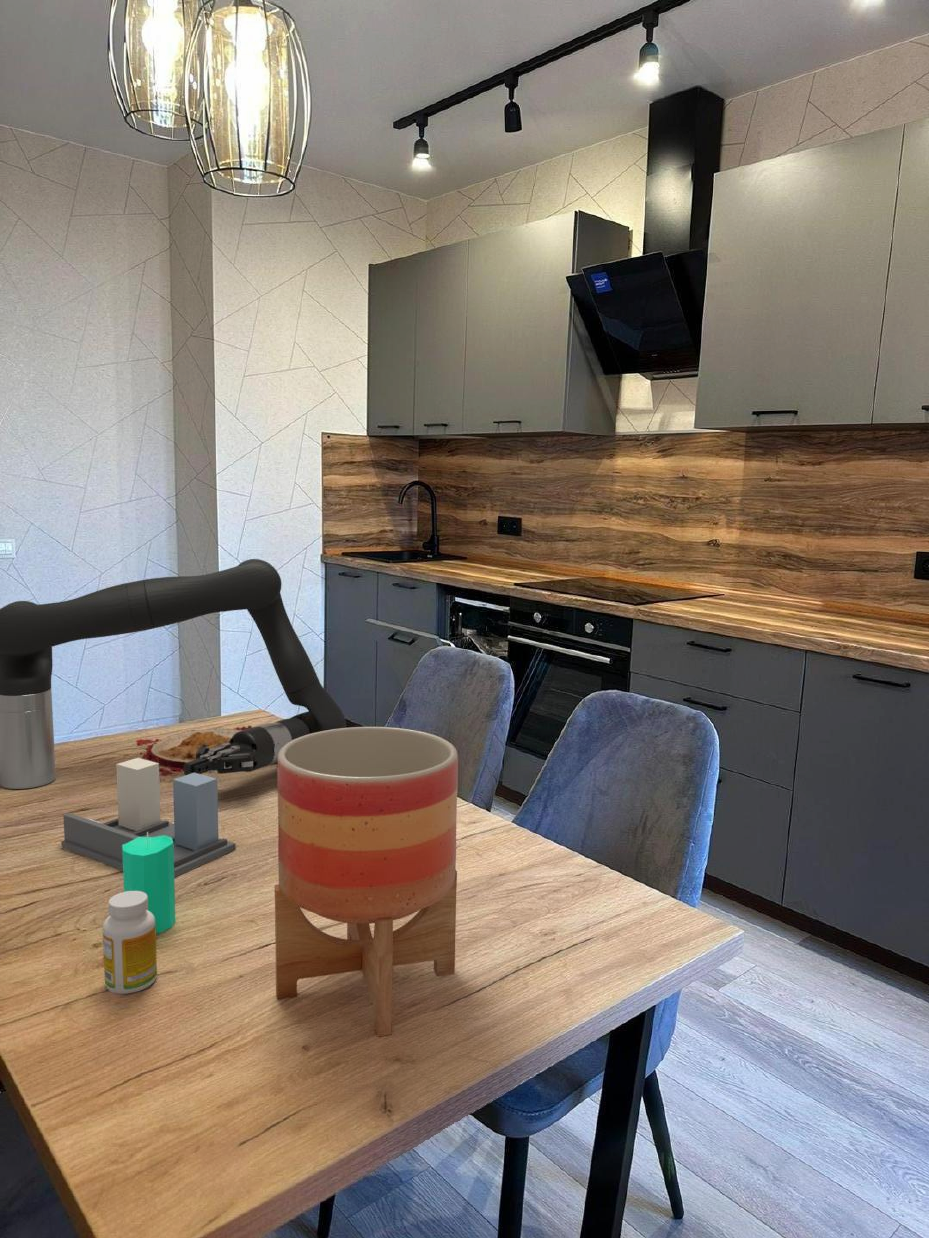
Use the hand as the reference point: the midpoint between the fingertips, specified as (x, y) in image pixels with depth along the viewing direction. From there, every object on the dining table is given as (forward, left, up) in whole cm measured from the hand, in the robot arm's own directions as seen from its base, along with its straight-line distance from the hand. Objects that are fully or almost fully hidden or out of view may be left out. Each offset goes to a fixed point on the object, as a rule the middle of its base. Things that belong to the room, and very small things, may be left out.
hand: (187, 770), depth 143 cm
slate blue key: (+11, -12, -6) cm, 17 cm away
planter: (+51, -33, -8) cm, 61 cm away
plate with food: (-19, +29, -8) cm, 36 cm away
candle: (+20, -32, -8) cm, 39 cm away
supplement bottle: (+27, -43, -8) cm, 51 cm away
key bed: (+4, -14, -8) cm, 16 cm away
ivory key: (-2, -10, -6) cm, 11 cm away
